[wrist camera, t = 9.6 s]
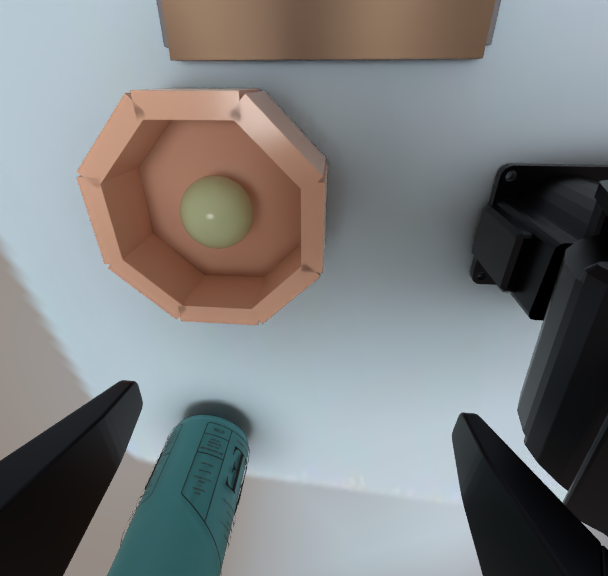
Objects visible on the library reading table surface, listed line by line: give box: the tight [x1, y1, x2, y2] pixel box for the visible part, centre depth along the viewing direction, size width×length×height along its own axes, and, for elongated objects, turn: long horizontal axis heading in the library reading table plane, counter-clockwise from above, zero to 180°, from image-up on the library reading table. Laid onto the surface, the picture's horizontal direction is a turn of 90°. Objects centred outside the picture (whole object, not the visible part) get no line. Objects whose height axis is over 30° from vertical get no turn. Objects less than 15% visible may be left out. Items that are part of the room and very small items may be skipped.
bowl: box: [76, 88, 328, 325], centre depth 18 cm, size 11×11×4 cm
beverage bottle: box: [107, 415, 250, 576], centre depth 21 cm, size 6×7×20 cm
